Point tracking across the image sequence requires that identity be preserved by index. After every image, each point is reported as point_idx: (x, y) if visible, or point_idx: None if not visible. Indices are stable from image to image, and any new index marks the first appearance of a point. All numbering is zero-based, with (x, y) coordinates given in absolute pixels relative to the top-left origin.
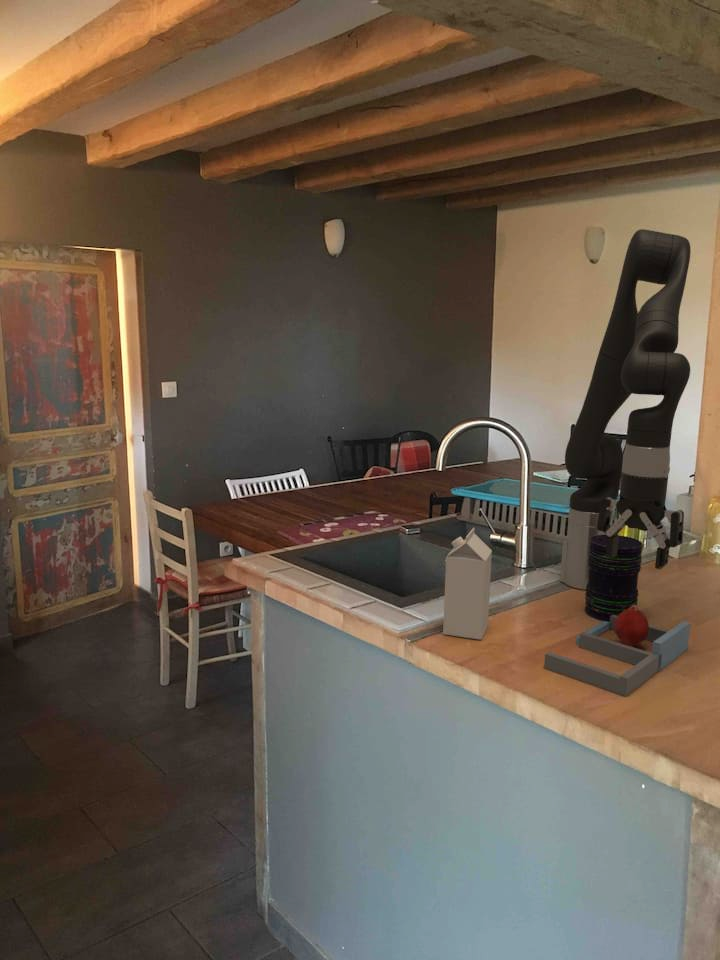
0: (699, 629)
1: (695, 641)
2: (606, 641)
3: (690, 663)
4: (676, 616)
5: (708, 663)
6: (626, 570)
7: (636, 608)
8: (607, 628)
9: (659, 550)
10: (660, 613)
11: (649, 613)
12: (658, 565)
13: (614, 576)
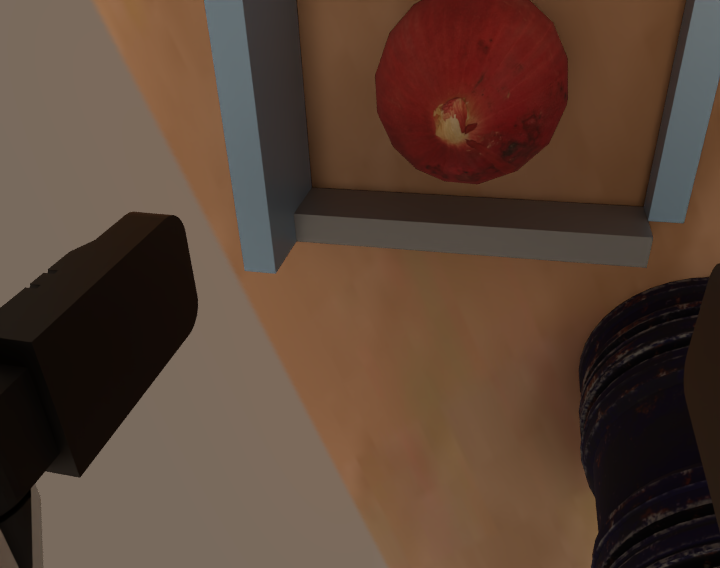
0: (343, 408)
1: (303, 301)
2: None
3: (211, 77)
4: (453, 473)
5: (170, 130)
6: (649, 514)
7: (435, 123)
8: (648, 189)
9: (18, 323)
10: (511, 471)
11: (546, 453)
12: (122, 220)
13: None
